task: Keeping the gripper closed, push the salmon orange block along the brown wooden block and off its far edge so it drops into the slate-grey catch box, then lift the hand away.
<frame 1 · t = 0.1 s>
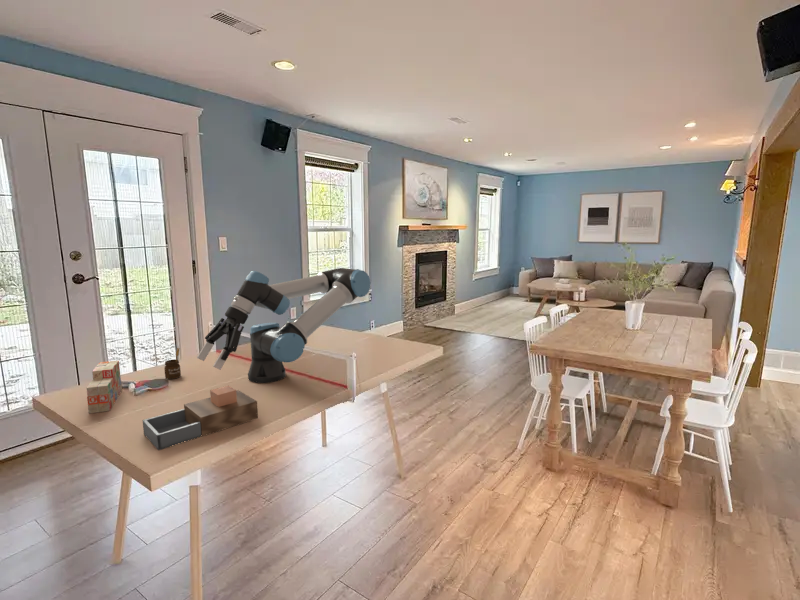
hand: (208, 363, 151), 15 cm above the table, tool tilted 35°, fingers open, 13 cm apart
stack of blocks: (106, 401, 157), on the table
utensil holder: (173, 377, 183), on the table
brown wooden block: (222, 420, 142), on the table
salmon orange block: (223, 401, 141), point 6 cm above the table, touching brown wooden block
catch box: (172, 435, 131), on the table
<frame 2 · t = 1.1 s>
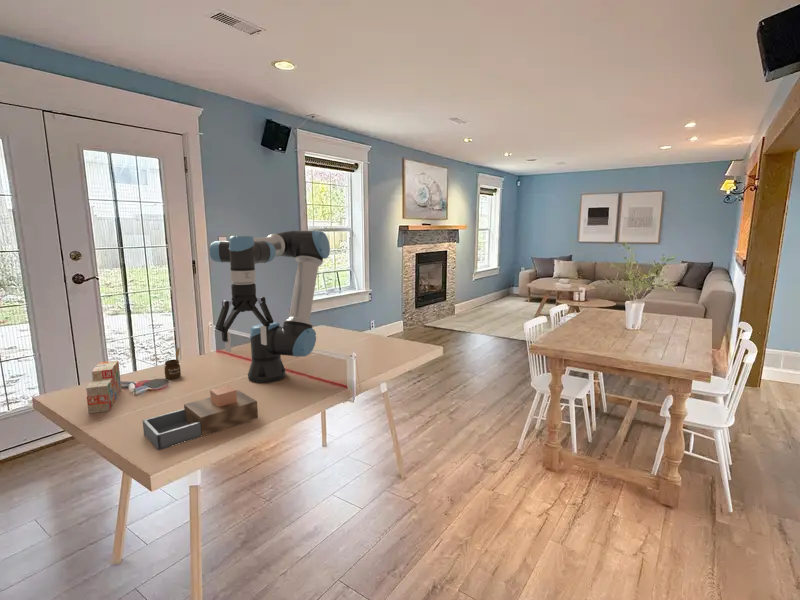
hand: (246, 347, 145), 22 cm above the table, tool pointing down, fingers open, 12 cm apart
nothing on the table moved.
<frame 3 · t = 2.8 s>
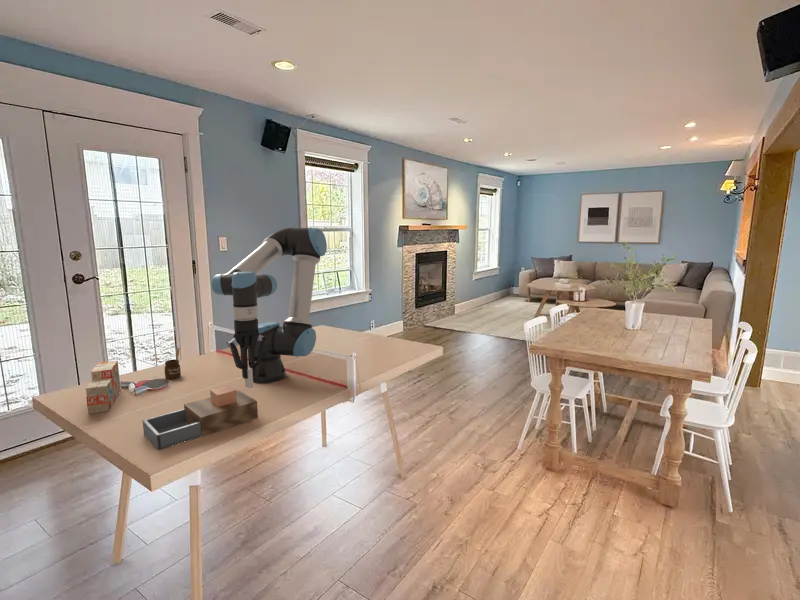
hand: (249, 386, 147), 9 cm above the table, tool pointing down, fingers closed
nothing on the table moved.
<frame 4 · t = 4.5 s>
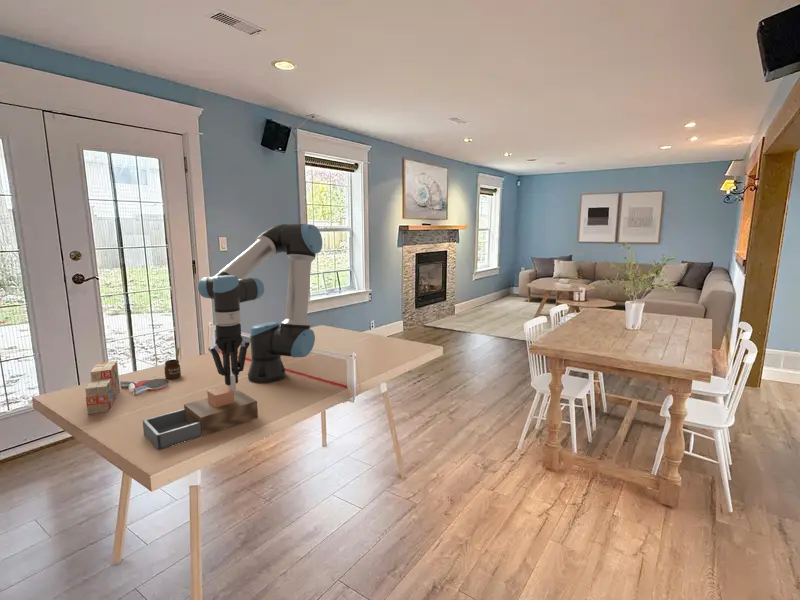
hand: (232, 393, 143), 8 cm above the table, tool pointing down, fingers closed
salmon orange block: (221, 402, 141), point 6 cm above the table, touching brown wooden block, gripper
everything else where it was.
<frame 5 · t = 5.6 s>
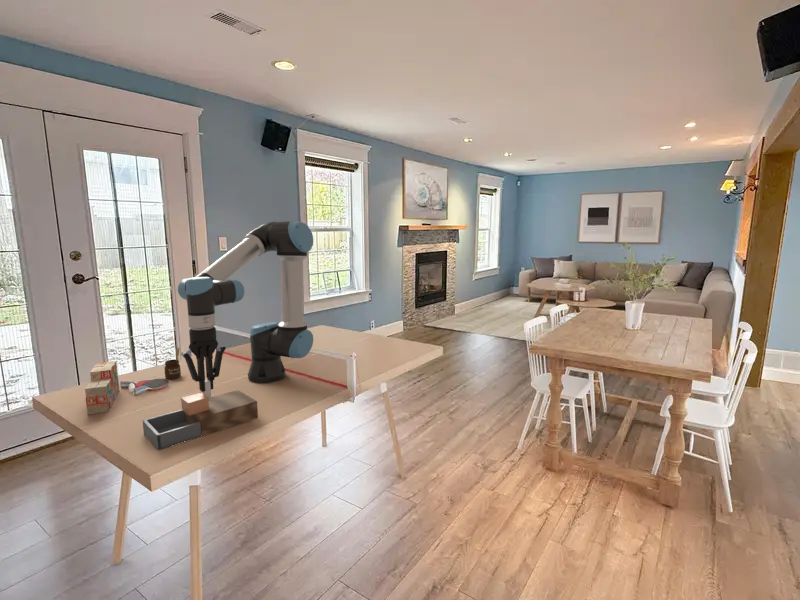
hand: (207, 400, 137), 8 cm above the table, tool pointing down, fingers closed
salmon orange block: (195, 409, 135), point 6 cm above the table, touching gripper
everything else where it was.
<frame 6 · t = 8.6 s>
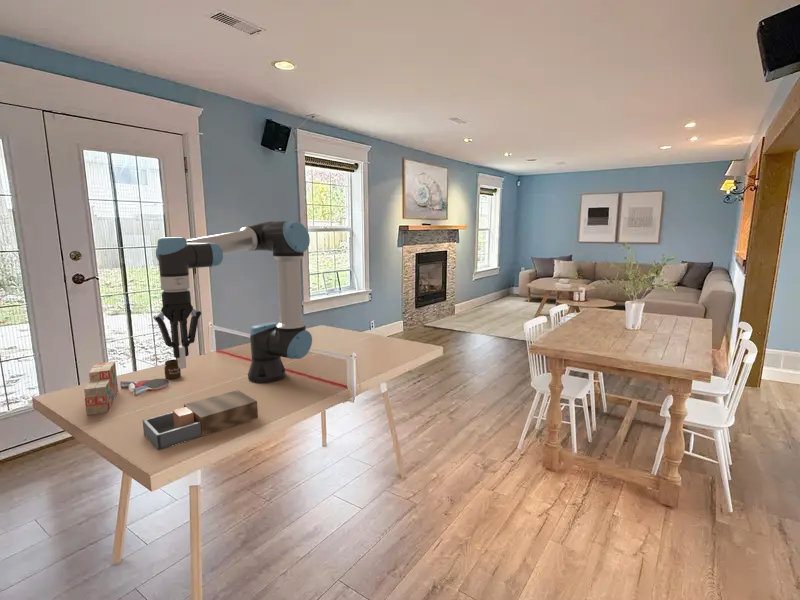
hand: (182, 367, 131), 20 cm above the table, tool pointing down, fingers closed
salmon orange block: (190, 418, 134), point 4 cm above the table, tilted 90°, touching catch box
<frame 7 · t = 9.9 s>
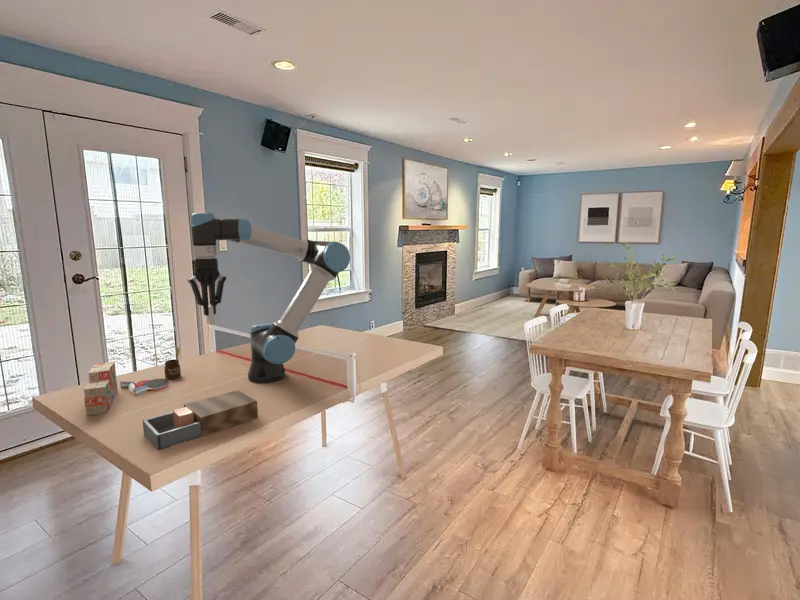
hand: (210, 323, 155), 28 cm above the table, tool pointing down, fingers closed
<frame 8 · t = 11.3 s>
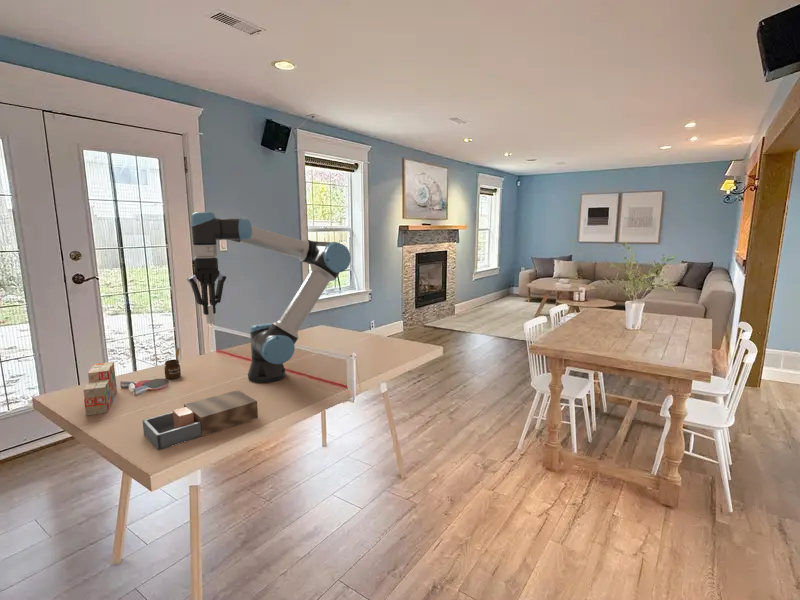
hand: (210, 323, 155), 28 cm above the table, tool pointing down, fingers closed
at the end: salmon orange block inside the target area (5.2 cm from its centre), point 3.6 cm above the table; salmon orange block moved 10.9 cm from its start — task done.
